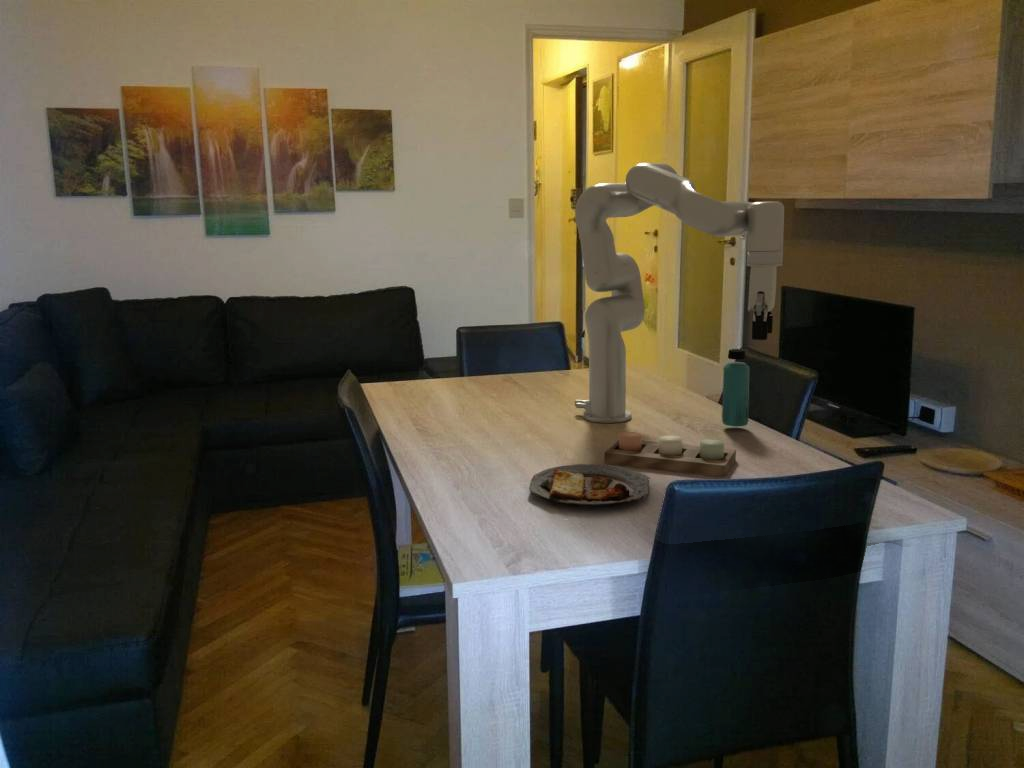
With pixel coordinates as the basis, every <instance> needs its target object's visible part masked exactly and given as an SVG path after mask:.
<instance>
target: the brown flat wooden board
mask: <svg viewBox="0 0 1024 768" xmlns="http://www.w3.org/2000/svg"><path fill="white" fill-rule="evenodd" d="M736 459H737V450H736V449H731V448H724V460H723V461H720V460H710V459H701V458H700V445H694V444H693V445H692V444H683V443H682V455H681V456H673V455H663V454H659V441H654V440H653V441H652V440H643V439H642V450H641V451H640V452H635V451H626V450H619V439H618V440H617V441H616V442H615V443H614V444H613V445H611V446H610V447H609V448H608V449H606V451H604V461H603V462H604V463H603V464H604V465H607V464H608V465H613V466H624V467H633V468H634V467H635V468H643V469H650V470H651V469H652V470H659V471H666V472H667V471H668V472H669V471H670V472H676V473H686V474H693V475H695V474H696V475H703V476H711V477H713V476H714V477H719V476H722V477H723V478H725V477H726V476H727V475H728V473H729V472H730V470H731V468H732V467H733V465H734V464H735V462H736V461H737V460H736ZM722 477H721V478H722Z"/></svg>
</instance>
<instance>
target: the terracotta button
mask: <svg viewBox="0 0 1024 768" xmlns="http://www.w3.org/2000/svg"><path fill="white" fill-rule="evenodd" d="M618 440H619V450H626V451H635V452H640V451H641V450H642V440H643V435H642V433H639V432H638V431H636V432H635V431H623V432H620V433H619V434H618Z"/></svg>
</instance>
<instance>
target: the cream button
mask: <svg viewBox="0 0 1024 768" xmlns="http://www.w3.org/2000/svg"><path fill="white" fill-rule="evenodd" d="M658 442H659V454H663V455H673V456H681V455H682V444H683V438H682V436H678V435H661V436H660V437H658Z"/></svg>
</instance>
